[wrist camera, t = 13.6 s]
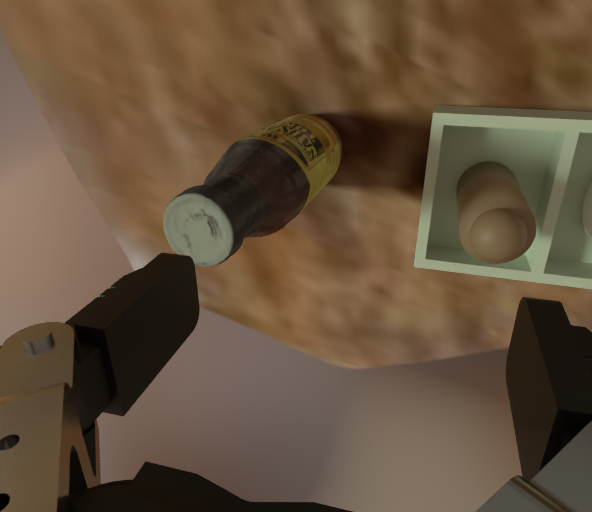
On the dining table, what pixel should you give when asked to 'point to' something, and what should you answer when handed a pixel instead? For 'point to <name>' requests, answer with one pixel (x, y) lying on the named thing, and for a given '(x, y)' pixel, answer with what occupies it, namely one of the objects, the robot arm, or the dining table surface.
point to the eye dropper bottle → (587, 211)
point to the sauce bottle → (254, 188)
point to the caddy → (507, 194)
